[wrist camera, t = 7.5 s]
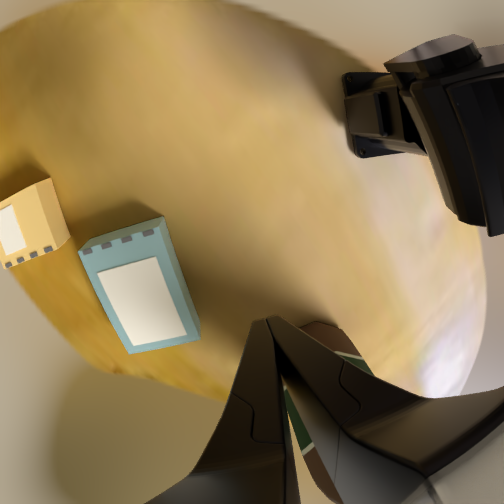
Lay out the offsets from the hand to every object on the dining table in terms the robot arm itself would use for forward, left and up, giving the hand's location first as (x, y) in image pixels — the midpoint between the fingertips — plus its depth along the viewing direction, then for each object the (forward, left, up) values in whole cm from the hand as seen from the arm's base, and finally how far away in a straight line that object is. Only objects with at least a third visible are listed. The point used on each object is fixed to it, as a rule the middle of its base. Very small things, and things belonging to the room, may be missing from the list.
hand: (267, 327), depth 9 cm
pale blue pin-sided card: (+7, +3, -12) cm, 14 cm away
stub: (+15, -5, -12) cm, 20 cm away
